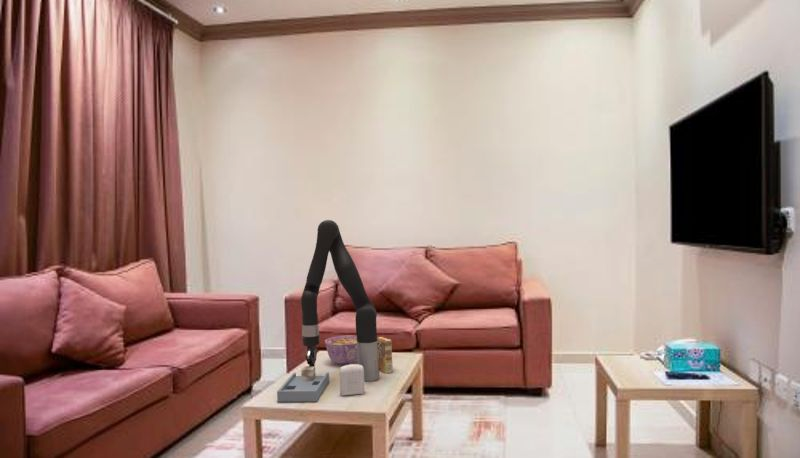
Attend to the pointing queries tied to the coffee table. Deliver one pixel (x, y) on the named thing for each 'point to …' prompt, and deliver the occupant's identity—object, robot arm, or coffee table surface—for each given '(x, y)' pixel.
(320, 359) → the coffee table surface
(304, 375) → the cream cube
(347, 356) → the bowl of food
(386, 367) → the candy box
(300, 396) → the track
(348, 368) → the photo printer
